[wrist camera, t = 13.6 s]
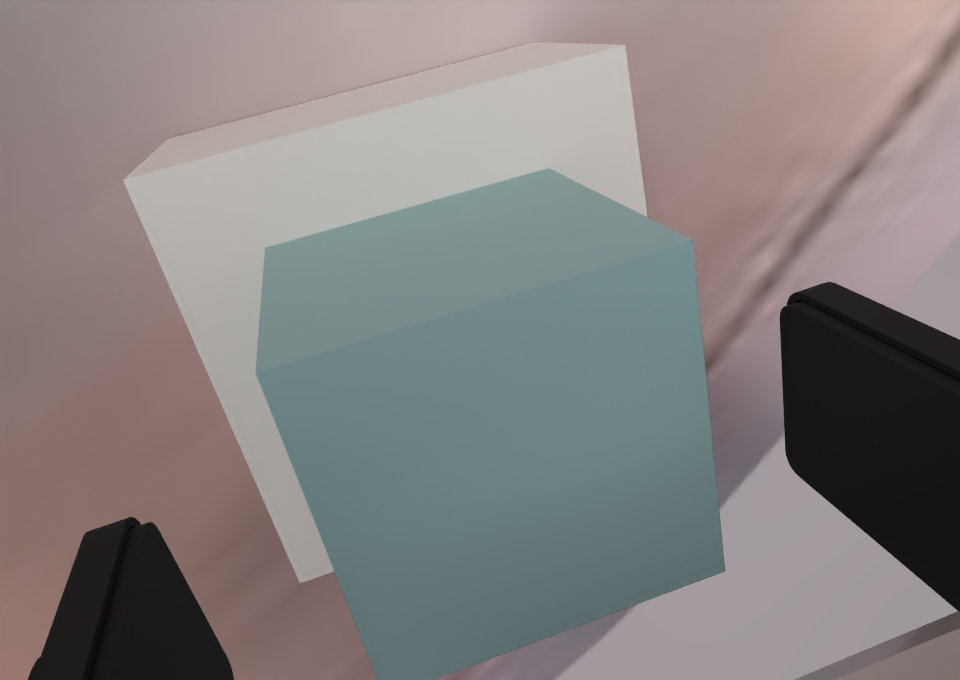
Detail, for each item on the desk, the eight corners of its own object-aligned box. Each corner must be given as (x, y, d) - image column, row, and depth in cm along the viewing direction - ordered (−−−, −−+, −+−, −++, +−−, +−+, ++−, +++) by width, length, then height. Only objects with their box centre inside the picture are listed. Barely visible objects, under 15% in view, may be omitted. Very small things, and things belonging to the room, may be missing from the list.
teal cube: (265, 247, 15) (255, 372, 9) (548, 168, 15) (692, 239, 10) (352, 489, 17) (385, 697, 12) (591, 409, 18) (725, 571, 12)
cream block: (168, 138, 19) (123, 179, 13) (533, 42, 20) (624, 44, 15) (295, 455, 23) (299, 583, 18) (590, 358, 24) (678, 450, 19)
